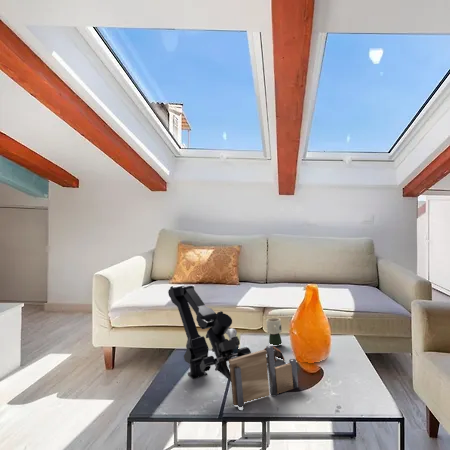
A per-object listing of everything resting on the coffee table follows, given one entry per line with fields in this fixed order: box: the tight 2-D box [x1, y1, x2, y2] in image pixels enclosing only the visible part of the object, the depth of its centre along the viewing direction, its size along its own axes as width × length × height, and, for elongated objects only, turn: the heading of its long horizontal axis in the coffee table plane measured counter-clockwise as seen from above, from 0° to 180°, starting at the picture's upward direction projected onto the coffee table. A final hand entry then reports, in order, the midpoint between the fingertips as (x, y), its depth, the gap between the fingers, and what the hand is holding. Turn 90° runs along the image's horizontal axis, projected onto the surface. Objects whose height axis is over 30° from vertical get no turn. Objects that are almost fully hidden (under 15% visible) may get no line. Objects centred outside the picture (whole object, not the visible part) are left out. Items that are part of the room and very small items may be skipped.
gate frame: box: [234, 345, 299, 407], centre depth 133 cm, size 4×26×17 cm, turn 117°
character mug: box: [265, 317, 283, 345], centre depth 187 cm, size 11×7×13 cm, turn 0°
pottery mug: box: [263, 346, 286, 365], centre depth 166 cm, size 12×10×8 cm
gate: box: [228, 349, 270, 405], centre depth 131 cm, size 2×14×16 cm, turn 120°
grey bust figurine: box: [225, 328, 240, 354], centre depth 184 cm, size 6×8×11 cm
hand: (234, 381), depth 133 cm, fingers closed
